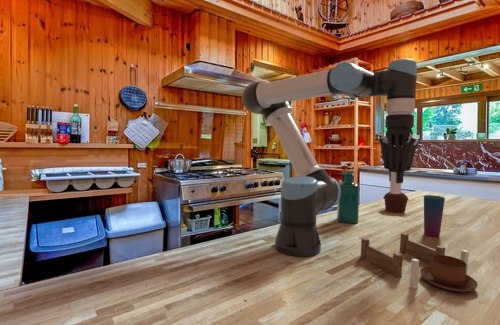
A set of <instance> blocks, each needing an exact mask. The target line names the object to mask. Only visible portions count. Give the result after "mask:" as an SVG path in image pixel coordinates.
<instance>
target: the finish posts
mask: <svg viewBox="0 0 500 325" xmlns="http://www.w3.org/2000/svg"><path fill="white" fill-rule="evenodd" d="M469 256H470V251H469V250H466V249H461V250H460V260H462V261H464V262H465V263H466V264H467V267H466V275H468V268H469ZM410 261H411V262H410V277H409V287H410V288H412V290H415V289H418V286H419V274H420V259H418V258H411V260H410Z"/></svg>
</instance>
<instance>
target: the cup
mask: <svg viewBox="0 0 500 325" xmlns="http://www.w3.org/2000/svg"><path fill="white" fill-rule="evenodd" d="M445 199H446V198H445V197H444V196H440V195H432V194H425V195H423V234H424V236H427V237H430V238H439V237H440V236H441V235H440V234H441V229H442V228H441V226H442V221H443V215H444V214H443V213H444V209H445V208H444V206H445Z"/></svg>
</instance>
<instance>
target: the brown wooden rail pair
mask: <svg viewBox="0 0 500 325" xmlns="http://www.w3.org/2000/svg"><path fill="white" fill-rule="evenodd" d="M409 235H410V234H409V233H406V232H400V241H399V252H392V255H391V254H389V253H387V252H385V251H383V250H381V249H378V248H377V247H375V246H372V245H370V239H368V238H366V237H364V238H361V239H360V242H361V244H360V246H361V247H360V258H361V259H363V260H366V261H367V262H369V263H371V264H373V265H374V266H376V267H379V268H380V269H382V270H383V271H385V272H387V273H389V274H391V275H392V276H394V277H395V278H401V277H403V260H404V259H403V256H404V255H403V254H406V255H409V256H410V257H414V259H417V260H419V261H422V262H425V263H427V264H429V265H431V258H432V256H434V255H445V254H446V247H445V246H442V245H436V246H435V248H433V247H430V246H427V245H425V244H422V243H420V242H417V241H414V240H412V239H410V238H409ZM401 252H402V253H403V254H402V253H401ZM445 256H446V255H445Z"/></svg>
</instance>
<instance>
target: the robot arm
mask: <svg viewBox="0 0 500 325" xmlns="http://www.w3.org/2000/svg"><path fill="white" fill-rule="evenodd" d="M417 67H418V64H417V61H416V60H414V59H411V58H400V59H396V60H392V61H390V62H389V63H388V66H387V69H384V70H379V71H377V70H376V71H369V70H367V69H364V68H363V67H360V66H359V65H357V64H355V63H352V62H348V61H342V62H339V63H337V64H336V65H335V66H334V67H333V68H330V69H324V70H320V71H316V72H315V71H314V72H312V73H308V74H301V75H298V76H292V77H289V78H283V79H279V80H275V81H270V82H269V81H267V80H261V81H257V82H252V83H250V84H248V85H247V86H246V87H245V88H244V89H243V91H242V95H241V101H242V105H243V106H244V108H245V109H246V110H247V111H249V113H252V114H255V115H256V114H257V115H262V116H263V119H264V121H265V123H266V124H267V125H269V126H272V128H273V130H274V132H275V134H276V136H277V138H278V140H279V142H280V144H281V147H283V150H284V152H285V154H286V156H287V158H288V160H289V163H290V164H291V166H292V168H293V170H294V172H295V174H296V175H297V176H293V177H288V178H286V179H284V180H283V181H282V183H281V189H280V225H279V228H278V230H277V234H276V237H275V239H274V248H275V249H276V251H278V252H280V253H282V254H284V255H287V256H292V257H311V256H312V257H313V256H316V255H318V254H320V252H321V250H322V248H321V247H322V242H321V238H320V236H319V232H318V228H317V213H319V212H321V211H326V210H329V209H330V208H332V207H334V206H335V205H337V204H338V201H339V199H340V195H341V189H340V186H339V182H338V180H336V179H335V178H333V177H331V176H329V174H328V172H327V171H326V169H325V168H324V167H321V166H319V164H318V163H317V161H316V159H315V157H314V155H313V154H312V152H311V150H310V148H309V147H308V144H307V143H306V140H305V139H304V137H303V135H302V133H301V131H300V130H299V128H298V126H297V124H296V122H295V120H294V119H293V117H292V113H293V108H292V103H293V101H301V100H307V99H313V98H320V97H326V96H332V95H341V94H347V96H348V97H349V98H351V99H363V98H372V97H373V98H374V97H383V96H386V103H385V104H386V106H385V114H387V115H386V116H385V120H384V121H385V123H384V124H385V128H386V132H385V135H384V136H383V137H380V138H378V141H379V144H380V148H381V155H382V160H383V167H384V168H383V169H385V170H386V169H387V170H388V171H389V173H388V174H389V175H388V176H389V177H388V178H389V179H388V180H389V184H390V185H389V186H390V188H389V192H390V193H392V194H401V192H402V184H403V183H404V173H405V172H408V171H411V168H412V164H413V161H414V158H415V154H416V151H417V147H418V145H419V144H420V142H421V138H419V137H416V136H414V132H413V128H414V127H415V116H414V113H415V109H416V108H415V106H416V93H417V92H416V89H417V79H418V73H417V72H418V68H417Z"/></svg>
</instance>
